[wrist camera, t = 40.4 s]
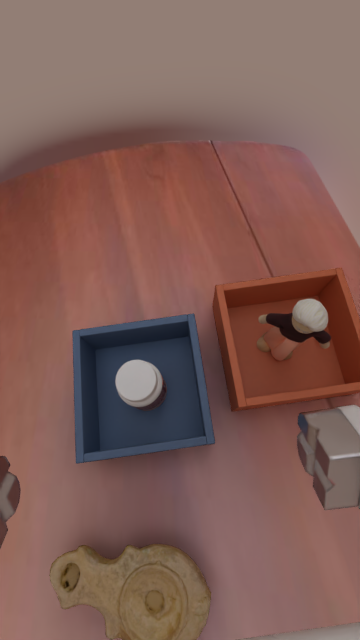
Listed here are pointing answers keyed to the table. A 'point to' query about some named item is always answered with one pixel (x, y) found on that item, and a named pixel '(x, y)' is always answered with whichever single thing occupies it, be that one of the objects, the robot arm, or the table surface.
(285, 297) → the terracotta bin
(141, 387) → the pill bottle
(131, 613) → the oil lamp
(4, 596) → the table surface
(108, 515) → the table surface
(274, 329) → the grandmother figurine
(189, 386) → the slate bin
